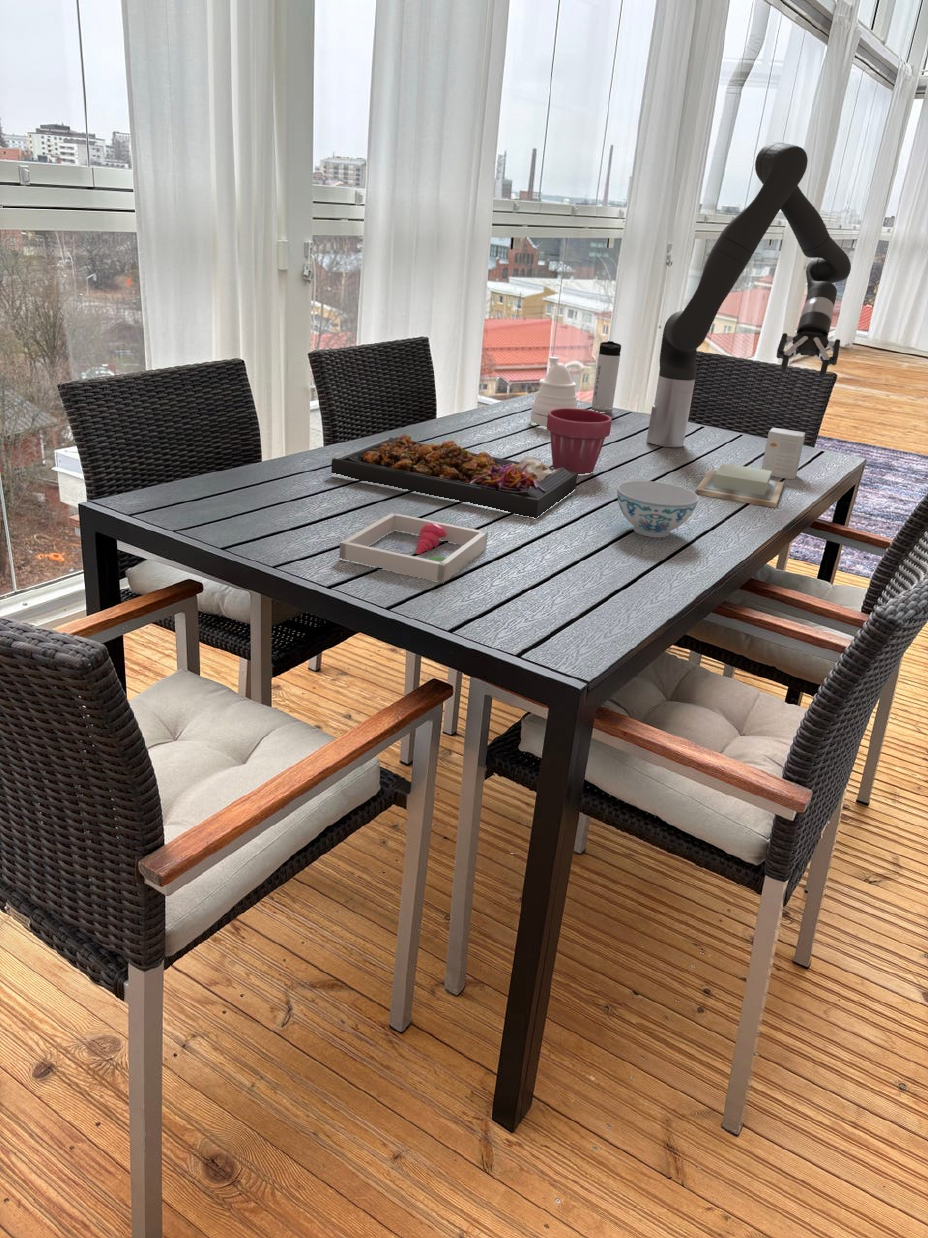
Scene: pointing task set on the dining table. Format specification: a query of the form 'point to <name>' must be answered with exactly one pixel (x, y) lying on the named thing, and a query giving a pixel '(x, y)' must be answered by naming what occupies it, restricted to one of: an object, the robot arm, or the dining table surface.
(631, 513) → the chinaware
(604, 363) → the travel mug
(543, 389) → the honey pot
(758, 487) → the plinth
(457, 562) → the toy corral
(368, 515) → the dining table surface
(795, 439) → the small box
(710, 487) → the board
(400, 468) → the food platter
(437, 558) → the toy pieces
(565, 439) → the plant pot
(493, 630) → the dining table surface
